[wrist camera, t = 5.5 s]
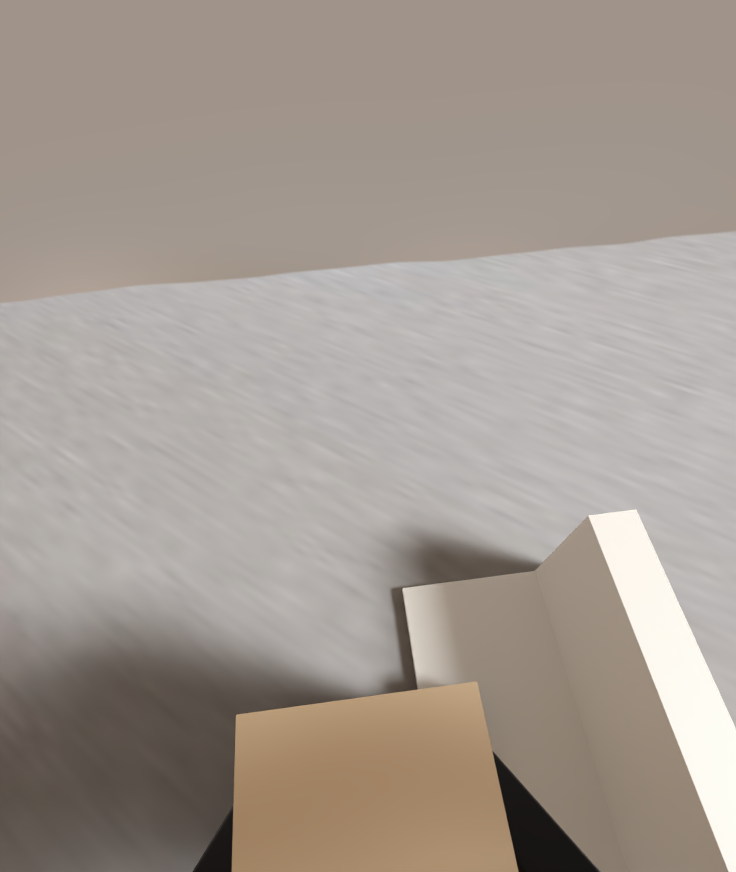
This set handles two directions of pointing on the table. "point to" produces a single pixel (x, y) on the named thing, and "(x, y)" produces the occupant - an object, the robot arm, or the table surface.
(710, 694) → the cream board with pegs
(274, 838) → the wooden building block
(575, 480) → the table surface
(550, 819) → the robot arm
